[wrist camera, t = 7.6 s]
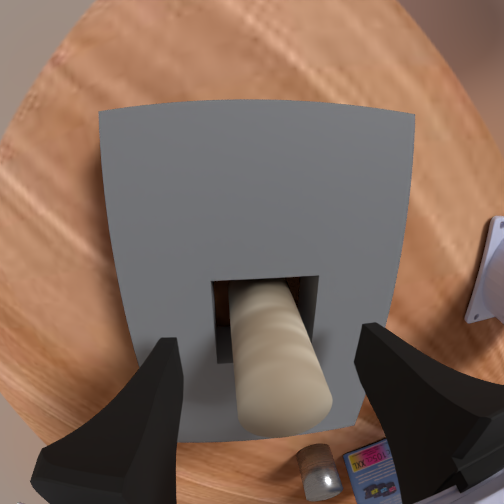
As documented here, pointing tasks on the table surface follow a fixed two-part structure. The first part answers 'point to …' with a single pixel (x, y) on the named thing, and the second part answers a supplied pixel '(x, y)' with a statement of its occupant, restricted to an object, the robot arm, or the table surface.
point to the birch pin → (274, 361)
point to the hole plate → (255, 232)
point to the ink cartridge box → (373, 474)
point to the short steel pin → (318, 472)
